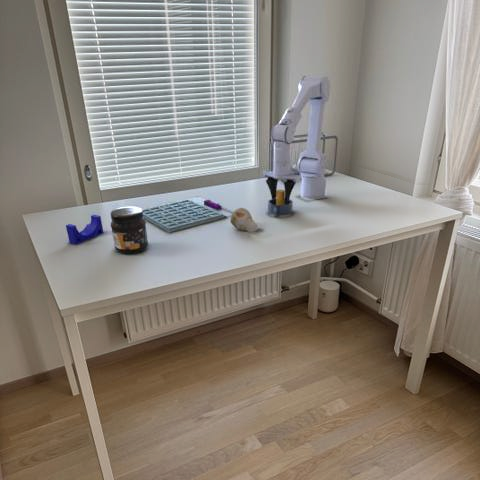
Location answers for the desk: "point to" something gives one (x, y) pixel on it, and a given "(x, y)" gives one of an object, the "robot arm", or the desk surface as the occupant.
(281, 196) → the peg
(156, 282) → the desk surface
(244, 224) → the rock
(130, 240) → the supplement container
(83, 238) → the cable clip
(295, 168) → the newton's cradle
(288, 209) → the cup
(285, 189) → the robot arm
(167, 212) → the calendar
